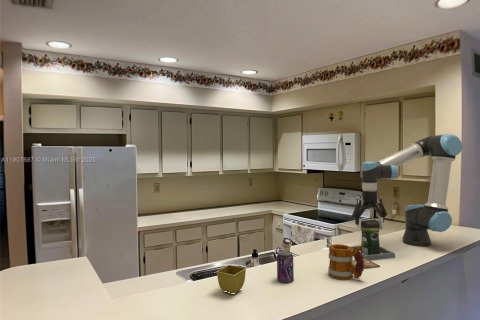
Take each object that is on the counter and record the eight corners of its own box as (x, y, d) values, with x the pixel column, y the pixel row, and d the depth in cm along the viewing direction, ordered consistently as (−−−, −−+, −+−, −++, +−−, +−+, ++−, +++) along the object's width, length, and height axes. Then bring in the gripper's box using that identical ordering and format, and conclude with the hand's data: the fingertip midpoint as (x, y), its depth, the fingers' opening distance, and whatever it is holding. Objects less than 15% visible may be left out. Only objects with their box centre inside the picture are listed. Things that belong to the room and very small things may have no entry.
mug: (335, 269, 152) (334, 237, 151) (369, 278, 140) (369, 244, 140) (322, 275, 144) (322, 242, 144) (358, 285, 132) (357, 249, 132)
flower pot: (235, 298, 122) (234, 275, 122) (216, 293, 127) (216, 271, 127) (246, 290, 130) (246, 268, 130) (228, 285, 134) (228, 264, 134)
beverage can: (283, 284, 134) (283, 256, 134) (274, 279, 141) (273, 251, 141) (297, 281, 138) (296, 253, 138) (287, 276, 144) (286, 249, 144)
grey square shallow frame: (373, 248, 183) (373, 243, 183) (395, 257, 166) (394, 251, 166) (347, 251, 179) (347, 245, 179) (366, 260, 162) (366, 254, 162)
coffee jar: (372, 251, 178) (372, 218, 178) (383, 255, 170) (382, 220, 170) (357, 253, 175) (357, 219, 175) (367, 257, 167) (367, 222, 167)
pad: (365, 259, 164) (365, 258, 164) (379, 267, 153) (379, 265, 153) (346, 262, 161) (346, 260, 161) (359, 269, 150) (359, 267, 150)
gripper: (384, 188, 179) (384, 226, 179) (344, 190, 173) (345, 229, 173) (394, 190, 171) (394, 229, 172) (353, 192, 165) (353, 233, 166)
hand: (369, 229), depth 172 cm, fingers open, 13 cm apart
